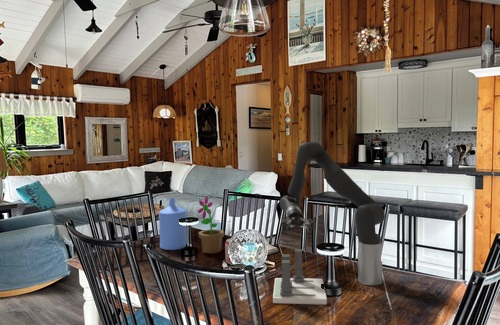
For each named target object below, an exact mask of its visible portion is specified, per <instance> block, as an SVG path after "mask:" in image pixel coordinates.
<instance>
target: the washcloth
mask: <svg viewBox="0 0 500 325" xmlns="http://www.w3.org/2000/svg"><path fill="white" fill-rule="evenodd" d="M278 252H279V249H278V248H277V247H276V246H273V245H272V244H268V255H267V256H269V255H272V254H275V253H278Z"/></svg>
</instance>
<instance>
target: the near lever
mask: <svg viewBox="0 0 500 325" xmlns="http://www.w3.org/2000/svg"><path fill="white" fill-rule="evenodd" d="M281 278H282V289H281V290H280V295H283V296H292V289H290V278H291V259H290V260H282V259H281Z"/></svg>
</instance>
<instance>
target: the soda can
mask: <svg viewBox="0 0 500 325" xmlns="http://www.w3.org/2000/svg"><path fill="white" fill-rule="evenodd" d="M230 240H231V238H228V239H226V241H225V243H224V245H225V246H224V250H225V252H224V253H225V254H224V256H225V257H224V258H225V263H226V264H227V263H229V264H231V261H230V258H229V254H228V246H229V242H230Z"/></svg>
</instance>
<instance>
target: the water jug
mask: <svg viewBox="0 0 500 325" xmlns="http://www.w3.org/2000/svg"><path fill="white" fill-rule="evenodd" d="M175 200H176V199H175V198H169V199H168V201H169V205H168V206H166V207H165V208H163V209H161V210H159V212H158V222H159V224H158V225H159V228H158V229H159V230H158V231H159V247H160V249H163V250H165V251H176V250H182V249H184V248H186V247H187V246H186V244H187V245H188V234H187V232H188V228H187V225H186V226H182V225H180V224H179V222H178V221H179V219H181V218H186V219H187V210H186V209H185V208H182V207H180V206H177V205H176V201H175Z"/></svg>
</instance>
